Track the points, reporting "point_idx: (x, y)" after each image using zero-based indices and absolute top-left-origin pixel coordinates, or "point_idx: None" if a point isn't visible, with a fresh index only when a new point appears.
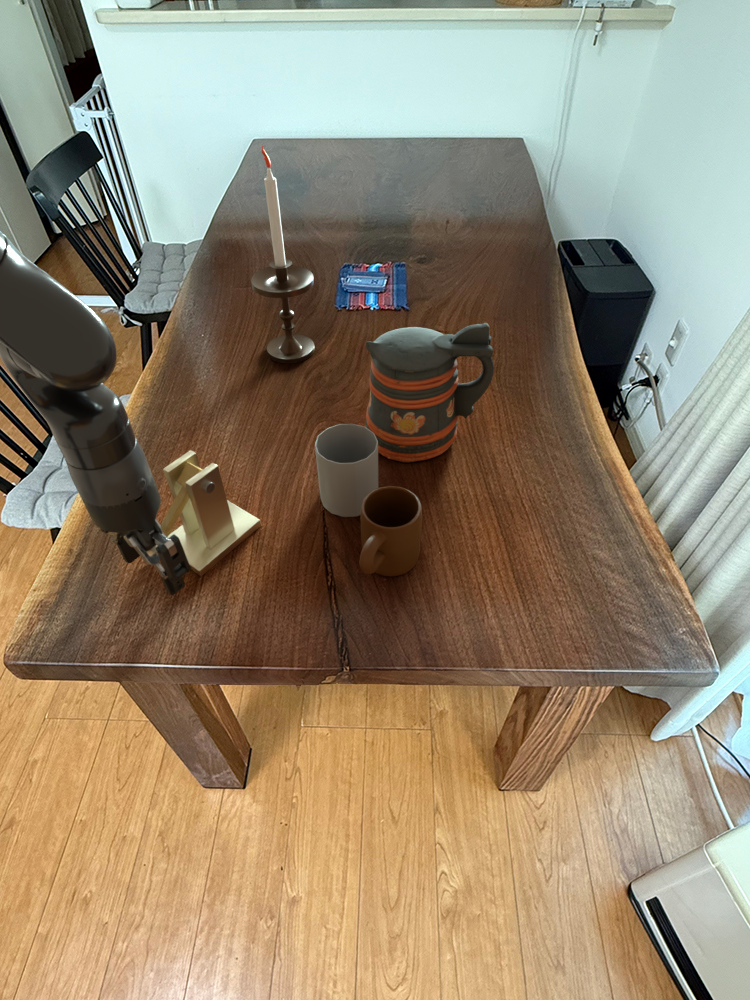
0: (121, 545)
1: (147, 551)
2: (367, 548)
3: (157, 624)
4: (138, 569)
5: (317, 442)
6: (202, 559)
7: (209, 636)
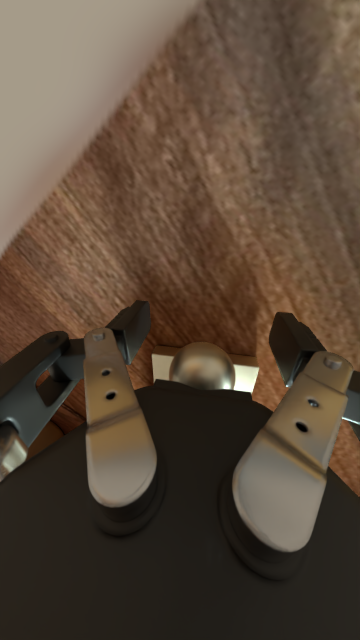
0: (298, 351)
1: (187, 372)
2: None
3: (130, 240)
4: (262, 308)
5: None
6: (165, 370)
7: (54, 274)
